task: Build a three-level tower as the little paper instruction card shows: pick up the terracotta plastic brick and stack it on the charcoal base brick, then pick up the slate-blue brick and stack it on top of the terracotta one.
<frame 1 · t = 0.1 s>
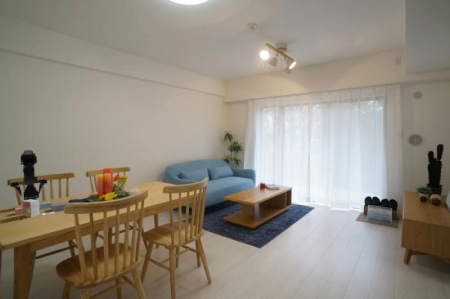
hand: (30, 195, 155), 14 cm above the table, fingers open, 9 cm apart
terracotta brick: (22, 213, 162), on the table
instruction card: (48, 213, 161), on the table
charcoal base brick: (59, 209, 170), on the table, touching instruction card
slate brick: (45, 208, 174), on the table
small box: (31, 215, 157), on the table
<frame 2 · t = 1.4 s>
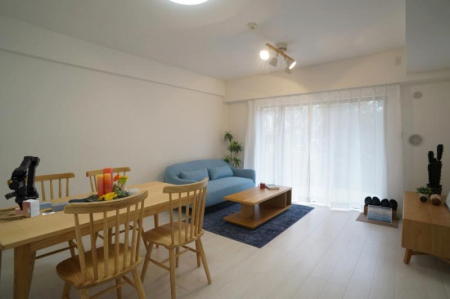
hand: (22, 208, 162), 3 cm above the table, fingers open, 9 cm apart
small box: (31, 215, 157), on the table, touching gripper
everything else where it was.
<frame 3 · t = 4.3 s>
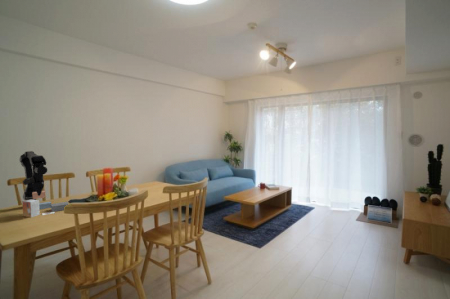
hand: (39, 194, 165), 12 cm above the table, fingers closed on terracotta brick, 5 cm apart
terracotta brick: (39, 197, 165), point 10 cm above the table, touching gripper
small box: (31, 215, 157), on the table
everything else where it was.
when the fingers open (7 cm above the table, at t = 6.3 s): terracotta brick stays where it is, resting on charcoal base brick.
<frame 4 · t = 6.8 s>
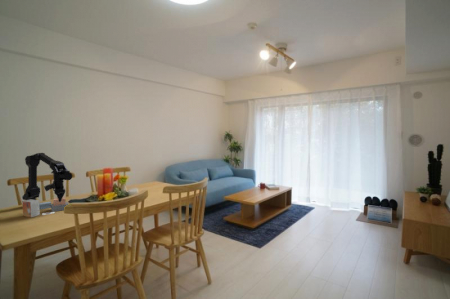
hand: (59, 200, 169), 7 cm above the table, fingers open, 9 cm apart
terracotta brick: (59, 204, 169), point 4 cm above the table, touching charcoal base brick
charcoal base brick: (59, 209, 170), on the table, touching instruction card, terracotta brick
everything else where it was.
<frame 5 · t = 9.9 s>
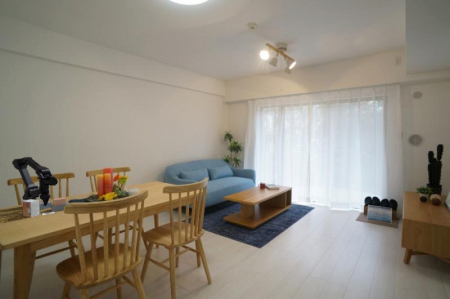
hand: (45, 205, 173), 2 cm above the table, fingers closed on slate brick, 5 cm apart
slate brick: (45, 207, 174), on the table, touching gripper
everything else where it was.
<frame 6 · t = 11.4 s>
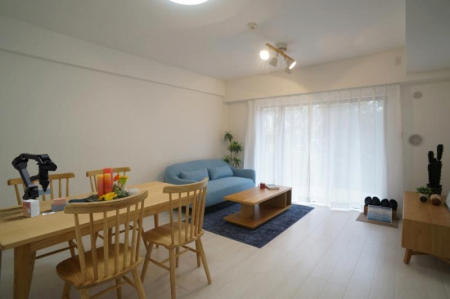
hand: (44, 191, 173), 13 cm above the table, fingers closed on slate brick, 5 cm apart
slate brick: (44, 194, 173), point 11 cm above the table, touching gripper
everything else where it was.
when the fingers open (11 cm above the table, at t = 13.1 s): slate brick stays where it is, resting on terracotta brick.
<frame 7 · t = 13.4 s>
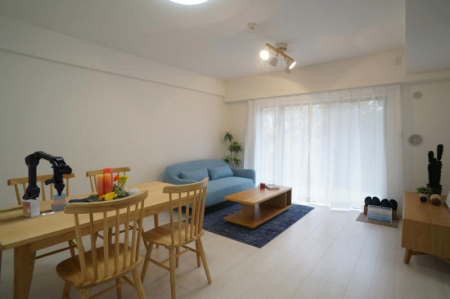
hand: (59, 194, 169), 11 cm above the table, fingers open, 8 cm apart
terracotta brick: (59, 204, 169), point 4 cm above the table, touching charcoal base brick, slate brick
slate brick: (59, 198, 169), point 8 cm above the table, touching terracotta brick
everything else where it was.
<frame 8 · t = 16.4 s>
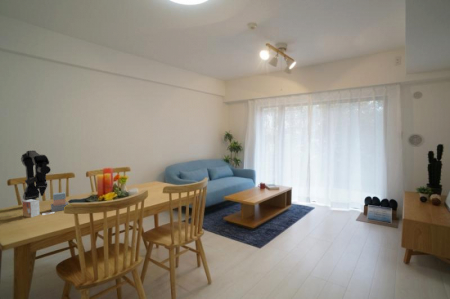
hand: (41, 194, 162), 13 cm above the table, fingers open, 9 cm apart
nothing on the table moved.
at the end: terracotta brick 0.1 cm off-centre on the charcoal base brick, point 4.0 cm above the charcoal base brick's base; slate brick 0.1 cm off-centre on the terracotta brick, point 4.0 cm above the terracotta brick's base; slate brick tilted 1° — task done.
